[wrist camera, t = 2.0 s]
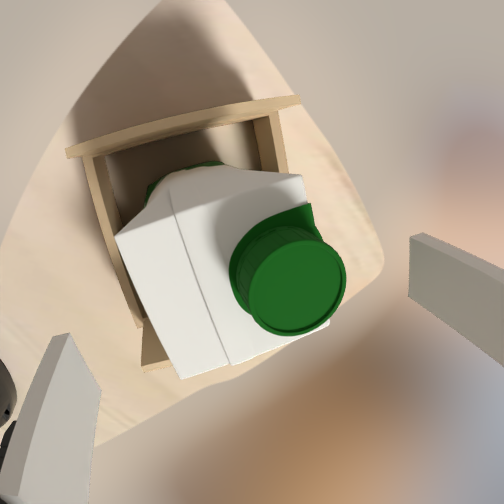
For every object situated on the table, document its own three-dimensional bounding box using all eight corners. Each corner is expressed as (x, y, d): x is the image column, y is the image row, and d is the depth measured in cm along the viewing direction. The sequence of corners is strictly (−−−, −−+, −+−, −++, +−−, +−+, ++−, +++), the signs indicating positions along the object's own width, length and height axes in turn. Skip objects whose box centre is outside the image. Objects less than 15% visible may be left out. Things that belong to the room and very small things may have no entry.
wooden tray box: (140, 302, 31) (133, 374, 21) (94, 150, 26) (52, 153, 15) (285, 262, 34) (338, 314, 23) (259, 110, 28) (311, 93, 18)
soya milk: (252, 235, 32) (362, 352, 14) (164, 265, 31) (175, 424, 12) (228, 149, 29) (336, 157, 11) (134, 179, 28) (76, 242, 9)
